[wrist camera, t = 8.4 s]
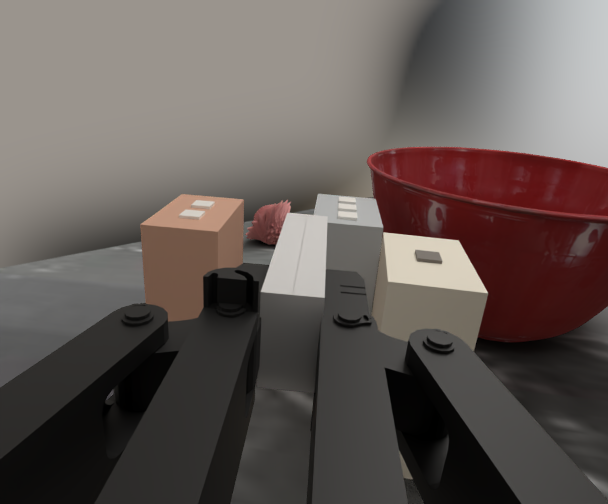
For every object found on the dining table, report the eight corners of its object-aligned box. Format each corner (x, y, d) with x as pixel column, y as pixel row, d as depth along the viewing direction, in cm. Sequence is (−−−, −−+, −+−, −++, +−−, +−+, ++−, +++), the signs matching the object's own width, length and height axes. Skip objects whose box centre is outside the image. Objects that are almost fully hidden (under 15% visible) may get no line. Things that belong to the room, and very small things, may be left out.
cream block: (361, 388, 35) (383, 229, 30) (425, 397, 35) (459, 237, 30) (359, 470, 28) (388, 277, 23) (441, 483, 27) (488, 289, 22)
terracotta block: (186, 333, 41) (182, 191, 36) (241, 339, 40) (244, 197, 36) (151, 391, 33) (140, 221, 28) (218, 398, 33) (217, 228, 28)
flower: (311, 210, 60) (285, 180, 61) (263, 241, 57) (237, 209, 58) (302, 236, 67) (279, 210, 68) (259, 265, 64) (236, 236, 65)
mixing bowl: (628, 452, 31) (720, 242, 25) (299, 310, 46) (310, 159, 40) (640, 308, 52) (691, 177, 47) (412, 244, 68) (430, 139, 62)
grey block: (307, 323, 44) (318, 191, 39) (358, 328, 44) (375, 196, 39) (300, 373, 36) (312, 218, 32) (361, 380, 36) (383, 224, 31)
